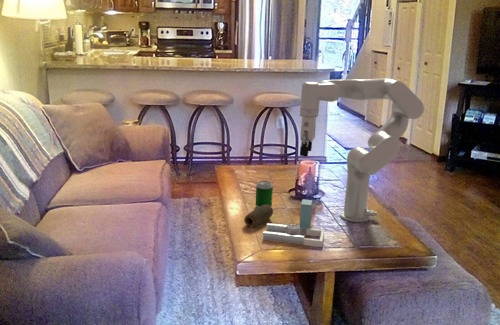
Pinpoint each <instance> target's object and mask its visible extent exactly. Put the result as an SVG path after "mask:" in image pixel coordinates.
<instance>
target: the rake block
mask: <svg viewBox="0 0 500 325" xmlns="http://www.w3.org/2000/svg"><path fill="white" fill-rule="evenodd" d="M312 209H313V199H305V198H304V199H302V200H301V204H300V217H299V227H307V228H310V229H311V224H312V222H311V221H312Z"/></svg>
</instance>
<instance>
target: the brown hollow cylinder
mask: <svg viewBox="0 0 500 325" xmlns="http://www.w3.org/2000/svg"><path fill="white" fill-rule="evenodd" d="M273 213H274V209H273V206H272V207H271V206H270V205H267V204H265V205H262V206H260V207H259V208H257V207H256V208H254V210H252V211H251V212H249V213H248V214H247V215H245V217H244V219H243V220H244V223H245V225H247V226H248V227H251V228H254V227H258V226H259V225H261V224H263V223H264V222H266V221H267V220H269V219H270V218H271V217H272V216H273Z"/></svg>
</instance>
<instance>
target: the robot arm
mask: <svg viewBox="0 0 500 325" xmlns="http://www.w3.org/2000/svg"><path fill="white" fill-rule="evenodd" d="M301 85H302V86H301V96H300V106H299V108H300V109H299V116H300V117H301V126H300V140H301V142H300V143H301V144H300V149H299V156H301V157H308V156H309V152H311V151H312V148H313V141H314V140H315V139H316V126H317V124H316V123H317V118H318V117H319V112H320V110H319V109H320V101H322V102H323V101H324V102H330V103H332V102H336V101H337V100H339V99H340V98H345V99H350V100H357V101H368V100H369V101H371V100H389V101H392V104H391V115H390V117H389V119H388V120H387V121H386V122H385V123H384V124H383V125H382V126H381V127H380V128H379V129H377V130H376V131H375V132H374V133H373V134H372V135H370V137H369V138H368V140H367V146H368V148H369V149H370V150H368V149H367V148H365V147H362V146H355V147H353V148H351V149H350V150H349V151H348V154H347V155H346V156H347V157H346V167H347V169H346V170H347V171H346V172H347V175H346V185H345V186H346V187H345V196H344V197H345V198H344V208H343V210H342V211H341V212H340V214H339V216H340V217H341V219H343V220H344V221H348V222H352V223H365V222H367V221H369V220H370V216H371V217H378V216H377V214H378V211H375V210H371V209H370V210H369V209H368V197H369V187H370V186H369V185H370V176H373V175H376V174H377V173H379V172H380V171H381V170H382V169H383V168H385V167H386V166H387V165H388V164H390V163H391V161H393V160H394V159H395V158H396V157H397V156H398V154H399V152H400V150H401V143H400V141H399V139H400V137H402V136H403V135H404V134H405V133H406V131H407V129H408V126H409V120H416V119H417V120H418V119H419V118H420V117H422V116H423V113H424V112H425V105H424V103H423V102H422V100H421V99H420V98H419V96H417V95H416V94H415V93H414V92H413V91H412V90H411V89H410V88H409V86H407V85H406V84H405V83H404V82H403V81H400V80H398V79H393V78H389V77H388V78H387V77H385V78H369V79H368V78H367V79H365V78H363V79H358V78H357V79H326V80H321V81H319V82H317V81H316V82H315V81H304V82H303V83H302V84H301Z"/></svg>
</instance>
